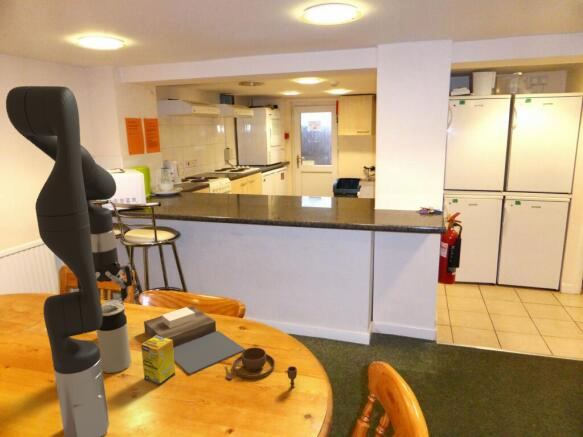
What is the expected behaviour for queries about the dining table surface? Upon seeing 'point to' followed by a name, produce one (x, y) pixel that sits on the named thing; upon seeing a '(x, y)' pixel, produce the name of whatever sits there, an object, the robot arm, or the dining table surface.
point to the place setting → (258, 364)
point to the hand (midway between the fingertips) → (108, 300)
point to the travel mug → (114, 339)
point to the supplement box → (158, 359)
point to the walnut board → (181, 328)
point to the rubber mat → (205, 352)
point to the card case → (178, 317)
